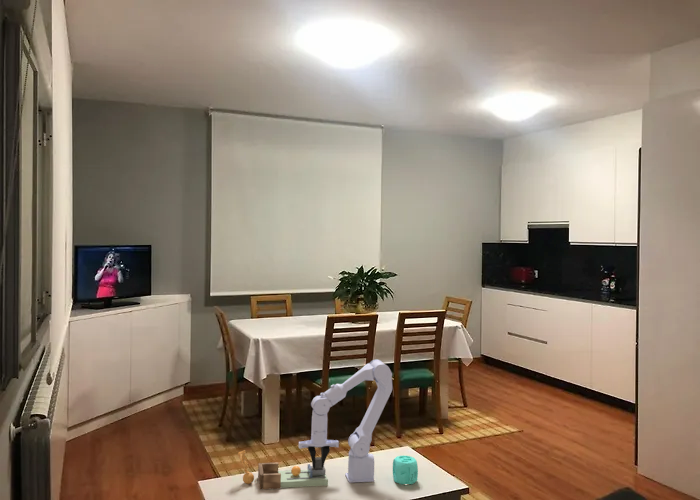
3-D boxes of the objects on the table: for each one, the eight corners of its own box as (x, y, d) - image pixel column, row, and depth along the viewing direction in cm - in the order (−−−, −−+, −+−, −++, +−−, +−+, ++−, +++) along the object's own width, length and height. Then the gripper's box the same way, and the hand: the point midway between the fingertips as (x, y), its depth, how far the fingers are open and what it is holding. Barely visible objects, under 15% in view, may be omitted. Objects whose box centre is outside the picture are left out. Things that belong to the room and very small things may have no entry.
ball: (300, 473, 215) (300, 464, 215) (301, 477, 211) (301, 467, 211) (290, 474, 214) (290, 464, 214) (291, 477, 211) (291, 468, 211)
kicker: (322, 469, 218) (323, 454, 218) (326, 476, 212) (326, 461, 212) (307, 470, 217) (307, 455, 217) (310, 477, 210) (310, 462, 210)
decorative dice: (395, 485, 213) (396, 463, 213) (392, 476, 221) (392, 455, 221) (417, 485, 214) (418, 463, 213) (413, 476, 221) (413, 455, 221)
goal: (277, 475, 217) (278, 462, 217) (280, 488, 206) (280, 474, 206) (258, 476, 216) (258, 463, 216) (259, 489, 205) (260, 475, 205)
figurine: (253, 488, 205) (254, 454, 205) (235, 488, 205) (236, 454, 205) (254, 478, 214) (255, 446, 214) (237, 479, 213) (238, 446, 213)
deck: (323, 474, 220) (323, 468, 220) (327, 485, 210) (328, 479, 210) (277, 476, 217) (278, 470, 217) (280, 487, 207) (280, 481, 207)
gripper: (336, 425, 220) (335, 461, 220) (298, 426, 217) (296, 463, 217) (340, 431, 213) (338, 469, 213) (300, 433, 210) (299, 470, 210)
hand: (317, 466), depth 214 cm, fingers closed on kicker, 2 cm apart
